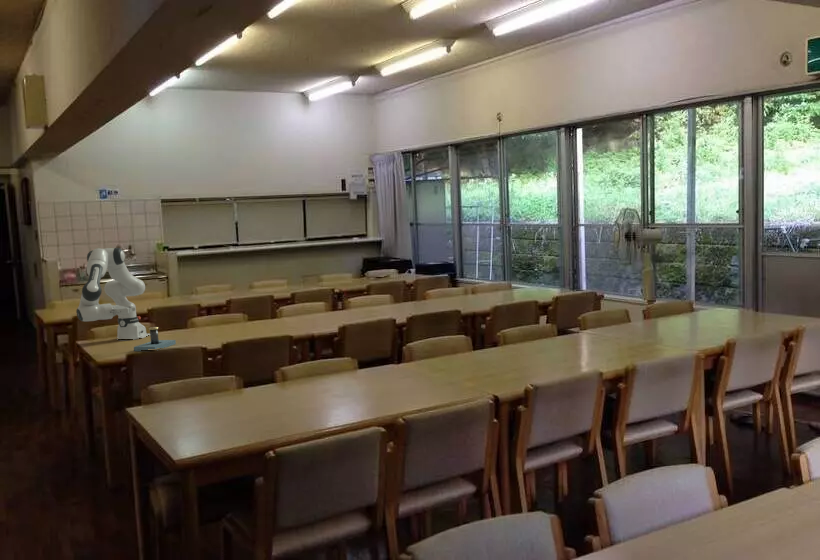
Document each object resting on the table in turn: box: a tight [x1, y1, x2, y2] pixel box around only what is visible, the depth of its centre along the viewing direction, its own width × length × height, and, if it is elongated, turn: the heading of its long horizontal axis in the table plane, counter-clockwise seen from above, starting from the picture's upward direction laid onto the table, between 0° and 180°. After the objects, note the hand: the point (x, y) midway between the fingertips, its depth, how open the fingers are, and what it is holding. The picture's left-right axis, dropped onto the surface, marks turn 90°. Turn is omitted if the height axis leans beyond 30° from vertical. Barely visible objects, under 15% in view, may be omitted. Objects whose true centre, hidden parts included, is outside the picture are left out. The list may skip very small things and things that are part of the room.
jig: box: [133, 339, 177, 352], centre depth 433 cm, size 22×14×2 cm, turn 167°
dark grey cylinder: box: [148, 326, 160, 344], centre depth 433 cm, size 6×6×12 cm
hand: (132, 308), depth 424 cm, fingers open, 8 cm apart
